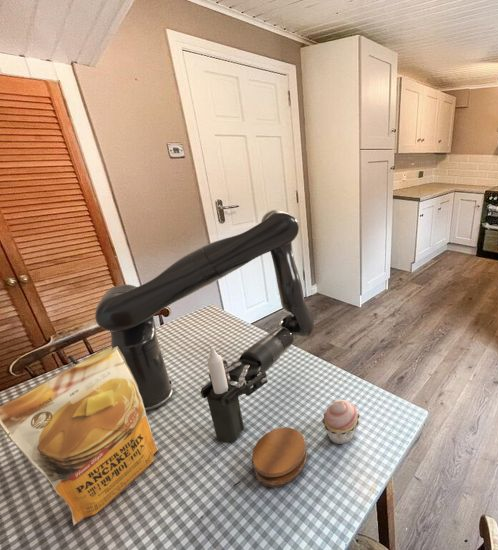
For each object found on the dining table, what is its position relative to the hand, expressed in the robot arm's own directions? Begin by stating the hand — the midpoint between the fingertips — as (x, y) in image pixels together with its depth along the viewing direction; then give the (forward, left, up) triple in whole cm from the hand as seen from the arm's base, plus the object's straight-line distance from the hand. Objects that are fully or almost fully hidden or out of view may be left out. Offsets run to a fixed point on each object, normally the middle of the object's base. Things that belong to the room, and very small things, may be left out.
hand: (212, 398), depth 67 cm
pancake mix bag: (-16, -12, -13) cm, 24 cm away
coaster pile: (+16, -4, -13) cm, 21 cm away
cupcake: (+28, +5, -13) cm, 31 cm away
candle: (+1, +2, -13) cm, 13 cm away
